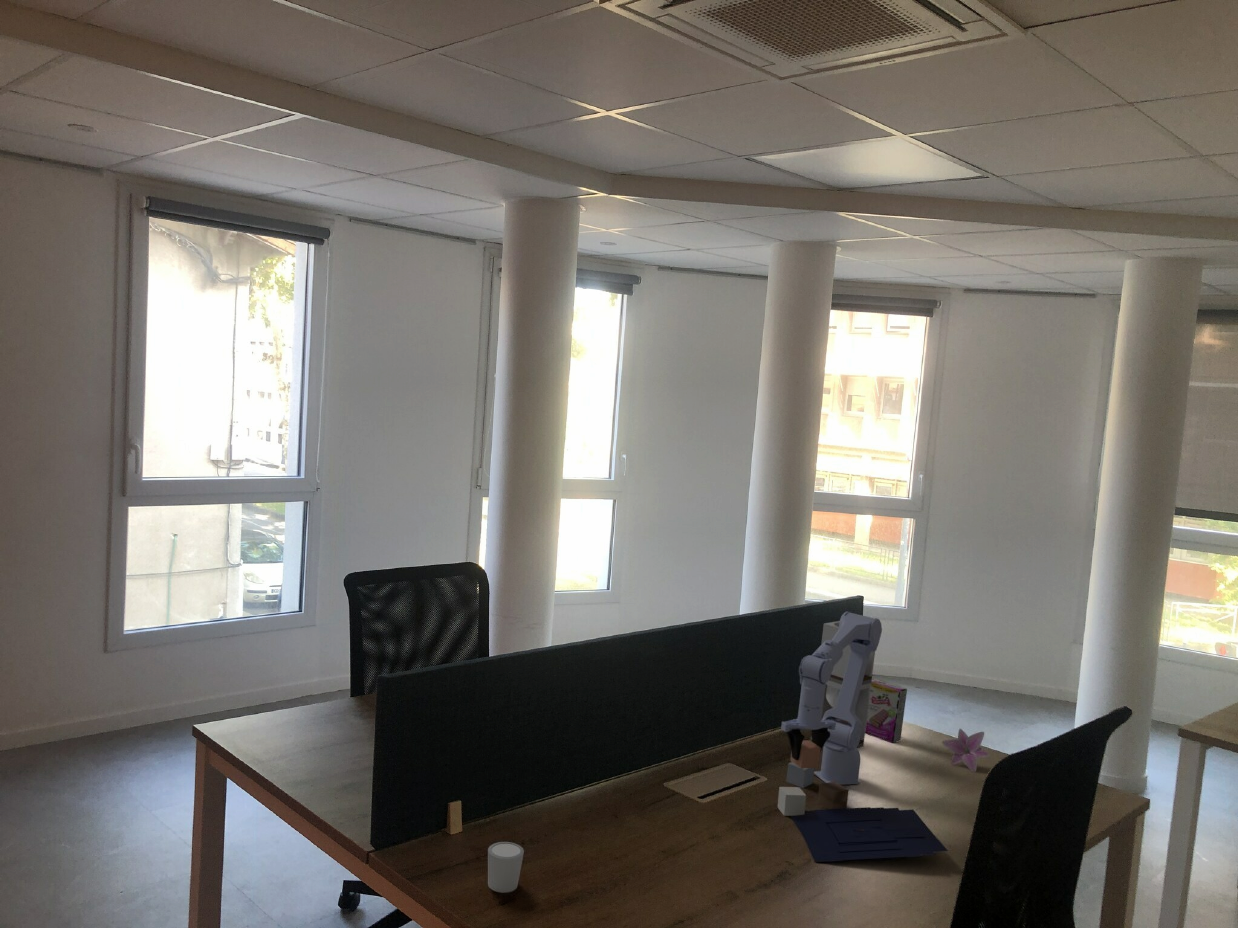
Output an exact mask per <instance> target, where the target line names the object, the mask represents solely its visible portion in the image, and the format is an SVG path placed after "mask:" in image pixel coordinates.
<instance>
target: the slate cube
mask: <svg viewBox="0 0 1238 928" xmlns="http://www.w3.org/2000/svg"><path fill="white" fill-rule="evenodd" d="M814 772H815V768H802V769H801V768H800V767H798V766H797V765H796V764H794V763H793V762H792V761H790V762H789V763H788V764H787V772H786V779H785V780H786V781H785V782H786V783H788V784H791V785H794V786H795V787H796V786H797V787H799V788H800V789H801V788H802V789H805V788H806V787H808V786H810V785H812V784H813V783H814V776H815V774H814Z"/></svg>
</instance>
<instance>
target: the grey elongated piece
mask: <svg viewBox="0 0 1238 928" xmlns="http://www.w3.org/2000/svg"><path fill="white" fill-rule="evenodd" d="M839 622H840V620H838V621H832V622H825V623H823V628H822V635H821V637H822V638H821V644H820V646H821V645H822V644H823V642H825V641H826V640H832V638H833V637H834V636H835V634H836V633H837V631H838V630H839ZM850 653H851V648H850V646H849V645H847V646H846V647H845V648H844V649H843V656H842V657H841V659H840V660H839V661H838V662H837V663H836V664H835V665H834V667H833V671H832V673H831V676H830V678H829V680H828V681H827V682H826V685H825V693H824V702H823V710H822V719H823V717H824V714H825V712H826V711H828V710H830V709H832V708H835V707H836V704H837V701H838V697H839V693H840V690H841V686H842V682H843V679H844V675H845V671H846V668H847V664H848V661H849V657H850ZM875 655H876V651H872V652H871V653H870V656H869V660H868V663H867V667H866V671H865V674H864V678H863V682H862V685H861V689H860V693H859V696H858V700H857V704H856V708H855V711H854V712H855V714H856V716H857V717H858V718H859V720H860V721H861V723H862V727H861V737H860V742H859V744H858V746H857V747H856V748H857V749H860V748H863V747H864V745H865V737H866V733H865V730H866V722H867V714H868V706H869V697H870V689H871V681H872V679H873V673H874V672H873V671H874V663H875ZM834 720H837V721H840V722H843V723H847V724H850V725H851V723H849V722H846V721H843V720H840V719H834ZM809 740H810V741H811V742H812V732H811V733H810V737H809Z"/></svg>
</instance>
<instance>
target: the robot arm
mask: <svg viewBox="0 0 1238 928" xmlns="http://www.w3.org/2000/svg"><path fill="white" fill-rule="evenodd" d="M839 621H840V622H839V630H838V631H837V633H836V634H835V636H834V637H833V638H832V640H826V641H825V642H823V644H822V645H821V644H820V645H819V647H817V649H816V650H815V651H814V652H813V653H812V654H811V655H810V654H809V655H806V656H804V657H803V658H801V661H800V664H799V667H798V675H799V684H800V685H801V689H800V696H799V697H800V698H799V704H798V705H799V706H798V711H797V712H798V713H797V717H796V718H793V719H789V720H786V721H781V726H780V729H781V731H782V732H784V733H786V735H787V738H788V741H789V744H790V750H791V751H792V758H794V759H795V760H799V757H800V750H801V745H802V742H803V741H804V740H805V738H806V736H805V735H804V734H802V731H811V733H812V741H811V742H813V743H814V744H816V745H817V746H819V747H820V748H821V750H820V753H822V757H821V764H820V765H821V766H820V770H819V771H815V770H814V776H816V777H818V778H819V779H820V780H822V781H823V782H824V783H829V782H833V781H834V782H836V783H838V784H839V785H841V786H843V785H844V786H845V785H859V784H860V781H859V777H860V767H861V754H860V750H859V748H856V747H857V746H858V744H859V742H860V737H861V727H862V723H861V721H860V720H859V718H858V717H857V716H856V714H855V712H854V711H855V708H856V704H857V700H858V696H859V693H860V689H861V685H862V682H863V678H864V674H865V671H866V667H867V663H868V660H869V656H870V653H871V652H872V651H875V652H876V651H877V649H878V646H879V644H880V639H881V637H882V631H883V629H882V628H883V627H882V622H881V620H880V618H873V617H870V616H865V615H861V614H857V613H854V612H853V613H852V612H850V611H845V612H844V613H842V615H841V616H840V619H839ZM847 645H849V646H850V648H851V653H850V657H849V661H848V664H847V668H846V671H845V675H844V679H843V682H842V686H841V690H840V693H839V697H838V701H837V704H836V707H835V708H832V709H830V710H828V711H826V712H825V714H824V717H823V719H822V710H823V702H824V693H825V685H826V682H827V681H828V680H829V678H830V676H831V673H832V671H833V667H834V665H835V664H836V663H837V662H838V661H839V660H840V659H841V657H842V656H843V649H844V648H845V647H846V646H847ZM834 719H840V720H843V721H846V722H849V723H851V725H850V724H847V723H843V722H840V721H837V720H834ZM822 749H823V750H822Z"/></svg>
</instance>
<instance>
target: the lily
mask: <svg viewBox="0 0 1238 928" xmlns="http://www.w3.org/2000/svg"><path fill="white" fill-rule="evenodd" d="M984 737H985V731H980V732H975V733H974V734H971V735H969V736H968V734H967V733H966V732H965V731H964V730H963V729H962V728H959V730H958V734H957V738H956V739H954V738H953V739H946V740H942V741H941V744H942V745H943V746H944V747H946V749H948V750H950V751H951V752H952V753H954V754H953V756H952V758H951V760H950V765H951V766H954V765H957V764H959V763H962V762H963V763H964V764H965V766H966V767H967V768H968V770H970V771H971V772H972V771H975V772H976V771H977V764H978V759H980V758H987V757H990V756H991V755H990V753H989V752H987V751H986V750H985V749H983V748H981V745H982V742H983V739H984Z"/></svg>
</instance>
